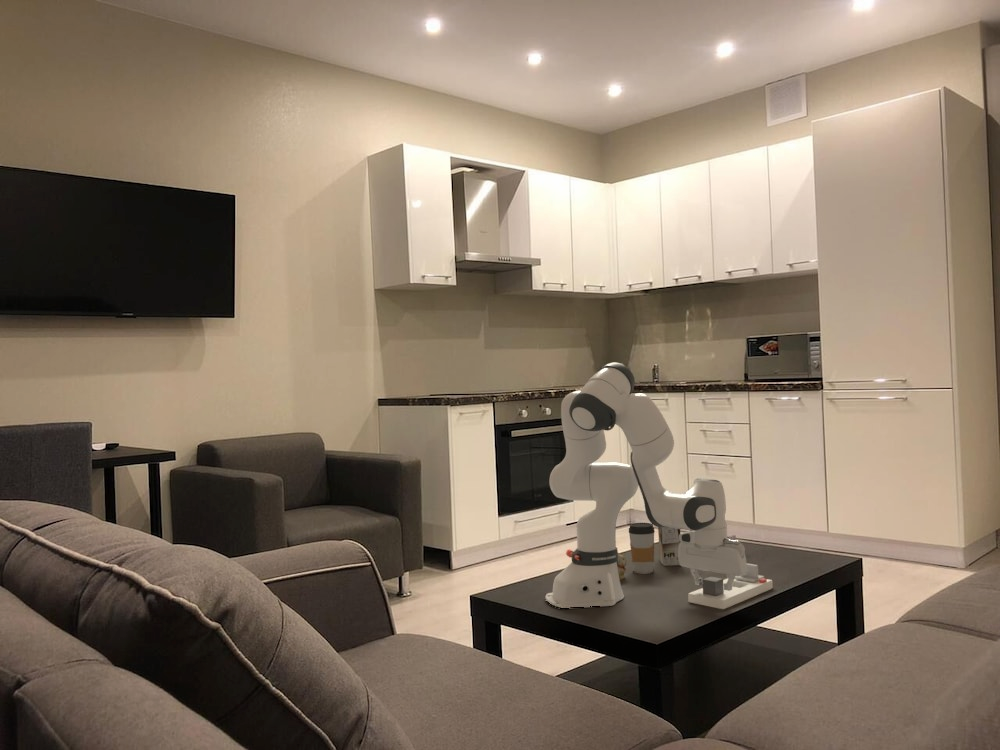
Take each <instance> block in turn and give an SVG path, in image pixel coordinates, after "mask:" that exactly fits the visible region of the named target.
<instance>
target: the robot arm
mask: <svg viewBox="0 0 1000 750" xmlns="http://www.w3.org/2000/svg"><path fill="white" fill-rule="evenodd" d="M635 384H636V380H635V376H634V374H633V372H632V371H631V370H630V368H628V366H626V365H624V364H623V363H619V362H616V361H615V362H609V363H607V364H605V365H603V366H602V367H600V368H599V369H598V371H597V372H595V374H593V375H592V376H591V377H590V378H589V379H588V380H587V381H586V382H585V384H584V385H583V387H582V388H581V389H580V390H575V391H572V392H569V393H568V394H566V395H565V396H564V397H563V399H562V401H561V405H560V407H561V408H560V417H561V418H560V419H561V426H562V431H563V437H564V442H565V449H566V450H565V451H566V452H565V456H564V458H563V459H562V461H560V462H559V464H556V465H555V466H554V468H553V469H552V471H551V472H550V475H549V481H548V482H549V484H548V485H549V488H550V490H551V492H552V494H553V495H554V496H555V497H556V498H559V499H562V500H567V501H584V502H585V501H590V502H591V501H593V502H595V509H593V510H591V511H588V512H587V513H585V514H583V515H582V516H580V517H579V519H578V520H577V523H576V541H577V542H576V544H577V545H576V546H577V548H576V549H575V550H572V549H566V551H565V555H566V557H569V558H571V562H570V563H569V564H568V565H567V566H566V567H565V568H564V569H563V570H561V572H559V573H558V574H557V575H556V576H555V577H554V580H553V585H552V592H547V593H546V595H545V598H544V600H545V599H546V600H545V602H546V601H548V602H549V603H550V604H552V605H555V606H558V607H561V608H569V609H571V608H570V607H584V608H593V607H592V606H600V607H609V606H610V607H611V606H614V605H616V603H618V602H620V601H621V600H623V599H624V598H625V595H624V592H623V588H622V585H621V580H619V575H618V553H619V551H618V547H617V541H616V538H617V537H616V531H617V530H616V529H617V526H616V525H617V520H618V516H619V513H620V512H621V510H622V508H623V506H624V505H625V504H626V503H627V502H628V501H629V500H631V499H632V498H633V497H634V496H635V495H636V494H637V491H638V489H639V490H640V493H641V496H642V498H643V502H644V510H645V515H646V517H647V519H648V521H649V523H651V524H653V527H654V526H655V527H656V528H658V527H670V528H676V529H680V530H684V531H685V532H681V533H680V535H679V541H681V543H680V544H679V547H678V561H679V563H680V565H679V566H681V567H683V568H688V569H690V573H691V575H692V577H693V578H694V584H695V585H697V586H701V585H702V586H703V582H702V580H703V579H704V578H703V577H701V576H700V574H699V571H706V572H712V573H718V574H722V575H725V576H726V579H727V578H729V579H728V581H727V583H724V590H727V591H730V590H732V583H733V581H734V579H735V576H742V575H745V574H746V572H747V557H746V548H745V546H744V544H743V543H742V542H740V541H739V540H737V539H736V540H735V541H734V540H729V538H728V527H727V522H726V512H727V504H726V495H725V489H724V485H723V483H722V482H721V481H720V480H719V479H718V480H717V479H714V478H713V479H711V478H702V477H699V478H696V479H694V481H693V484H692V486H691V487H690V488H689V489H688V490H686V492H683V493H682V492H674V491H670V490H668V489H666V488H664V486H663V485H662V481H661V479H660V476H659V474H658V470H657V468H656V466H659V465H661V464H662V463H664V462H665V461H666V460H667V459H668V458H669V457H670V456H671V454H672V452H673V450H674V446H675V440H674V437H673V436H674V435H673V433H672V431H671V428H670V426H669V425H668V423H667V421H666V419H665V417H664V415H663V413H662V412H661V411H660V409H659V408H658V406H657V405H656V403H655V402H654V400H653V399H652V398H651V397H650V396H649V395H647V394H645V393H642V392H641V393H640V392H638V393H637V392H636V393H633V391H634V388H635ZM615 425H616V426H617V427H619V428H620V429H621V430H622V432H623V434H624V436H625V438H626V441H627V442H628V444H629V446H630V448H631V452H630V456H629V457H630V463H631V464H627V463H624V462H618V461H617V462H616V461H611V462H610V461H609V462H608V461H605V462H604V461H602V462H601V461H600V462H599V461H598V460H600V458H601V457H603V455H604V454H605V452H606V450H607V441H606V440H607V439H606V436H605V431H607V432H608V431H611V430H612V429H613V428H614V427H615ZM550 604H549V605H550ZM590 606H591V607H590Z"/></svg>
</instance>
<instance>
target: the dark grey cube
mask: <svg viewBox="0 0 1000 750" xmlns="http://www.w3.org/2000/svg"><path fill="white" fill-rule="evenodd" d="M723 580H724V578H720V577H716V576H708V577H706V578H703V580H702V582H703V584H702V588H703V594H706V595H711V596H718V595H721V594H723V593H724V588H723Z"/></svg>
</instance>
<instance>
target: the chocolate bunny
mask: <svg viewBox="0 0 1000 750" xmlns="http://www.w3.org/2000/svg"><path fill="white" fill-rule="evenodd" d="M627 562H628V561H627V558H626V557H625V556H624V555H622V554H620V553H619V552H618V575H619V580H620V581H621V580H624V579H625V578H626V577H625V573H626V572H625V571H626V570H627V568H626V565H627Z"/></svg>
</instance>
